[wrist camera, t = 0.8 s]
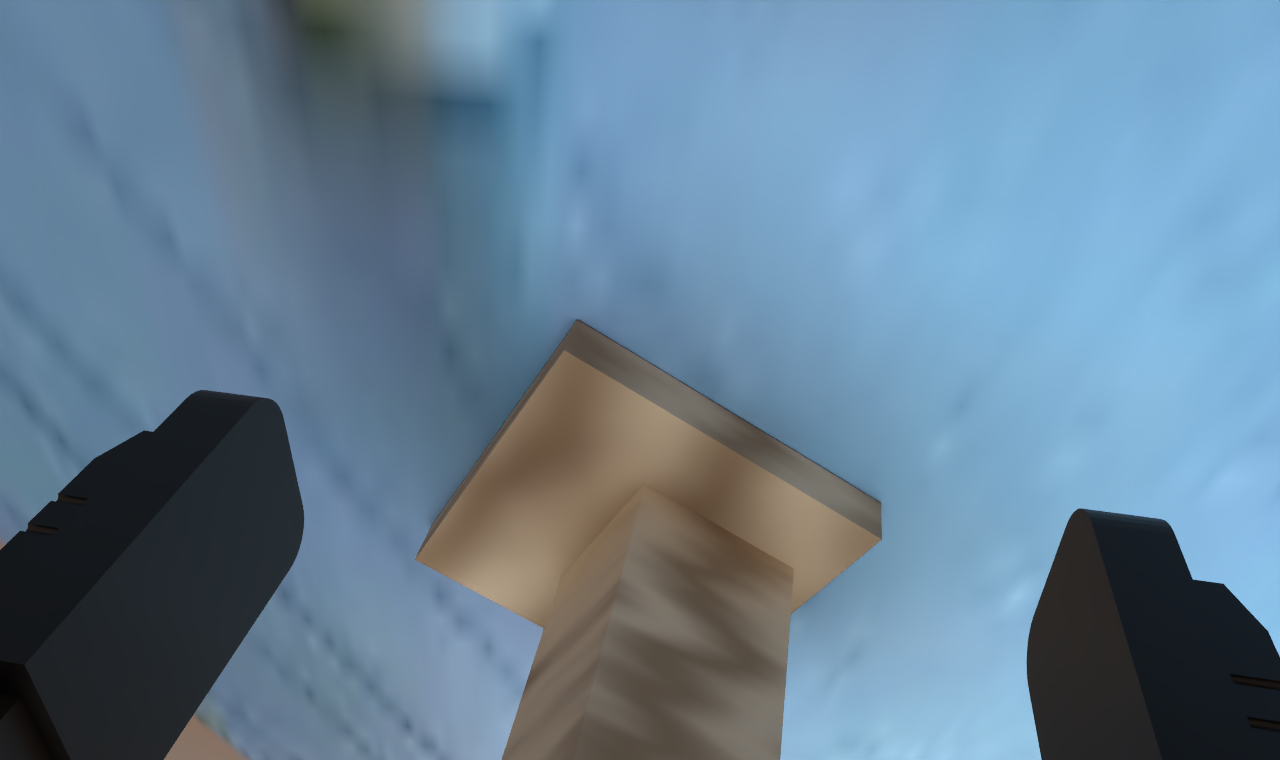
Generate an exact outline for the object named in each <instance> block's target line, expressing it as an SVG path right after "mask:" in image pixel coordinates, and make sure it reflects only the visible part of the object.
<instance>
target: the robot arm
mask: <svg viewBox="0 0 1280 760" xmlns="http://www.w3.org/2000/svg"><path fill="white" fill-rule="evenodd" d="M303 528H304V510H303V504H302V500H301V495H300V491H299V486H298V482H297V477H296V472H295V468H294V463H293V459H292V454H291V450H290V445H289V440H288V436H287V431H286V427H285V422H284V418H283V414H282V412H281V409H280V407H279V406H278V405H277V403H276V402H274V401H273V400H271V399H268V398H261V397H253V396H245V395H238V394H230V393H223V392H215V391H208V390H200V391H197V392H195V393H193V394H191V395H190V396H189V397H188V398H186V399H185V400H184V401H183V402H182V403H181V404H180V405H179V407H178V408H177V409H176V410H175V411H174V412H173V413H172V414H171V415H170V416H169V417H168V418H167V419H166V420H165V421H164V422H163V423H162V424H161V425H160V426H159V427H158V428H157V429H156V430H155V431H154V432H150V431H143V432H141V433H139V434H137V435H135V436H134V437H132V438H130V439H128V440H127V441H125V442H123V443H121V444H119V445H118V446H116V447H114V448H112V449H111V450H109V451H107V452H105V453H103V454H102V455H100V456H98V457H96V458H95V459H94V460H93V461H91V462H90V463H89V464H88V465H87V466H86V467H85V468H84V469H83V470H82V471H81V472H80V473H79V474H78V475H77V476H76V477H75V478H74V479H73V480H72V481H71V482H70V483H69V484H68V485H67V486H66V487H65V488H64V489H63V490H62V491H61V492H60V493H59V494H58V500H57V501H56V502H54V501H50V502H49V503H48V504H47V505H46V506H45V507H44V508H43V509H42V510H41V511H40V512H39V513H38V514H37V515H36V516H35V517H34V518H33V519H32V520H31V521H30V522H29V523H28V529H27V531H26V532H24V531H20V532H18V533H17V534H16V535H15V536H14V537H13V538H12V539H11V540H10V541H9V542H8V543H7V544H6V545H5V546H4V547H3V548H2V549H1V550H0V760H164V758H165V757H166V755H167V753H168V752H169V750H170V749H171V747H172V746H173V744H174V743H175V741H176V740H177V738H178V737H179V735H180V734H181V732H182V731H183V729H184V728H185V726H186V725H187V723H188V722H189V720H190V719H191V717H192V716H193V714H194V713H195V711H196V710H197V708H198V707H199V705H200V704H201V702H202V701H203V699H204V698H205V696H206V695H207V693H208V692H209V690H210V689H211V687H212V686H213V684H214V683H215V681H216V680H217V678H218V677H219V675H220V674H221V672H222V671H223V669H224V668H225V666H226V665H227V663H228V662H229V660H230V659H231V657H232V656H233V654H234V653H235V651H236V650H237V648H238V647H239V645H240V644H241V642H242V641H243V639H244V637H245V636H246V634H247V633H248V631H249V630H250V628H251V627H252V625H253V624H254V622H255V621H256V619H257V618H258V616H259V615H260V613H261V612H262V610H263V609H264V607H265V606H266V604H267V603H268V601H269V600H270V598H271V597H272V595H273V594H274V592H275V591H276V589H277V588H278V586H279V585H280V583H281V582H282V580H283V579H284V577H285V576H286V574H287V573H288V571H289V570H290V568H291V566H292V565H293V563H294V561H295V558H296V556H297V553H298V551H299V548H300V544H301V540H302V535H303ZM1027 679H1028V686H1029V692H1030V698H1031V703H1032V709H1033V714H1034V720H1035V725H1036V731H1037V736H1038V742H1039V747H1040V753H1041V758H1042V760H1280V657H1279V655H1278V652H1277V650H1276V648H1275V646H1274V644H1273V641H1272V639H1271V637H1270V635H1269V633H1268V631H1267V630H1266V629H1265V628H1264V627H1263V626H1262V624H1261V623H1260V622H1259V621H1258V620H1257V619H1256V618H1255V617H1254V616H1253V615H1252V614H1251V613H1250V612H1249V611H1248V610H1247V609H1246V608H1245V606H1244V605H1243V604H1242V603H1241V602H1240V601H1239V600H1238V599H1237V598H1236V597H1235V596H1234V595H1233V594H1232V593H1231V592H1230V591H1229V589H1228V588H1227V587H1226V586H1225V585H1224V584H1220V583H1213V582H1206V581H1199V580H1193V579H1192V577H1191V574H1190V572H1189V569H1188V567H1187V564H1186V562H1185V559H1184V556H1183V554H1182V551H1181V549H1180V546H1179V544H1178V541H1177V539H1176V536H1175V534H1174V532H1173V530H1172V528H1171V526H1170V525H1169V524H1168V523H1167V522H1166V521H1165V520H1162V519H1156V518H1149V517H1141V516H1133V515H1126V514H1118V513H1111V512H1103V511H1096V510H1088V509H1077V510H1076V511H1075V512H1074V513H1073V514H1072V515H1071V517H1070V519H1069V521H1068V523H1067V526H1066V528H1065V531H1064V534H1063V537H1062V539H1061V542H1060V545H1059V548H1058V550H1057V553H1056V556H1055V559H1054V561H1053V564H1052V567H1051V570H1050V572H1049V575H1048V578H1047V581H1046V583H1045V586H1044V589H1043V592H1042V595H1041V597H1040V600H1039V603H1038V606H1037V608H1036V611H1035V614H1034V617H1033V620H1032V623H1031V628H1030V633H1029V639H1028V648H1027Z"/></svg>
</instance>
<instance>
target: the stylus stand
mask: <svg viewBox="0 0 1280 760" xmlns="http://www.w3.org/2000/svg"><path fill="white" fill-rule="evenodd" d="M880 540H882V529H881V503H880V502H878V501H877V500H875V499H873V498H872V497H870V496H868V495H867V494H865V493H863V492H862V491H860V490H858V489H857V488H855V487H853V486H852V485H850V484H848V483H847V482H845V481H844V480H842V479H840V478H839V477H837V476H835V475H834V474H832V473H830V472H829V471H827V470H825V469H824V468H822V467H820V466H819V465H817V464H815V463H814V462H812V461H810V460H809V459H807V458H805V457H804V456H802V455H801V454H799V453H797V452H796V451H794V450H792V449H791V448H789V447H787V446H786V445H784V444H782V443H781V442H779V441H777V440H776V439H774V438H772V437H771V436H769V435H767V434H766V433H764V432H763V431H761V430H759V429H758V428H756V427H754V426H753V425H751V424H749V423H748V422H746V421H744V420H743V419H741V418H739V417H738V416H736V415H734V414H733V413H731V412H729V411H728V410H726V409H724V408H723V407H721V406H720V405H718V404H716V403H715V402H713V401H711V400H710V399H708V398H706V397H705V396H703V395H701V394H700V393H698V392H696V391H695V390H693V389H691V388H690V387H688V386H686V385H685V384H683V383H681V382H680V381H678V380H677V379H675V378H673V377H672V376H670V375H668V374H667V373H665V372H663V371H662V370H660V369H658V368H657V367H655V366H653V365H652V364H650V363H648V362H647V361H645V360H643V359H642V358H640V357H639V356H637V355H635V354H634V353H632V352H630V351H629V350H627V349H625V348H624V347H622V346H620V345H619V344H617V343H615V342H614V341H612V340H610V339H609V338H607V337H605V336H604V335H602V334H600V333H599V332H597V331H596V330H594V329H592V328H591V327H589V326H587V325H586V324H584V323H582V322H581V321H579V320H577V321H576V322H575V323H574V325H573V326H572V328H571V329H570V330H569V332H568V333H567V335H566V336H565V338H564V339H563V340H562V342H561V343H560V345H559V346H558V347H557V349H556V350H555V352H554V353H553V355H552V356H551V357H550V359H549V360H548V362H547V363H546V364H545V366H544V367H543V369H542V370H541V372H540V373H539V374H538V376H537V377H536V379H535V380H534V381H533V383H532V384H531V386H530V387H529V389H528V390H527V391H526V393H525V394H524V396H523V397H522V398H521V400H520V401H519V403H518V404H517V406H516V407H515V408H514V410H513V411H512V413H511V414H510V415H509V417H508V418H507V420H506V421H505V423H504V424H503V425H502V427H501V428H500V430H499V431H498V432H497V434H496V435H495V437H494V438H493V440H492V441H491V442H490V444H489V445H488V447H487V448H486V450H485V451H484V452H483V454H482V455H481V457H480V458H479V459H478V461H477V462H476V464H475V465H474V467H473V468H472V469H471V471H470V472H469V474H468V475H467V476H466V478H465V479H464V481H463V482H462V484H461V485H460V486H459V488H458V489H457V491H456V492H455V493H454V495H453V496H452V498H451V499H450V501H449V502H448V503H447V505H446V506H445V508H444V509H443V510H442V512H441V513H440V515H439V516H438V518H437V519H436V520H435V522H434V523H433V525H432V526H431V528H430V530H429V532H428V534H427V536H426V538H425V540H424V542H423V544H422V546H421V548H420V550H419V552H418V554H417V556H416V558H415V560H417V561H418V562H420V563H422V564H424V565H426V566H428V567H430V568H432V569H433V570H435V571H437V572H439V573H441V574H443V575H445V576H447V577H449V578H450V579H452V580H454V581H456V582H458V583H460V584H462V585H464V586H465V587H467V588H469V589H471V590H473V591H475V592H477V593H479V594H480V595H482V596H484V597H486V598H488V599H490V600H492V601H494V602H495V603H497V604H499V605H501V606H503V607H505V608H507V609H509V610H511V611H512V612H514V613H516V614H518V615H520V616H522V617H524V618H526V619H527V620H529V621H531V622H533V623H535V624H537V625H539V626H541V627H542V628H544V630H543V633H542V636H541V640H540V643H539V646H538V649H537V652H536V655H535V658H534V661H533V664H532V667H531V671H530V674H529V677H528V680H527V683H526V686H525V689H524V692H523V695H522V698H521V702H520V705H519V708H518V711H517V714H516V717H515V720H514V723H513V726H512V729H511V732H510V736H509V739H508V742H507V745H506V748H505V751H504V754H503V757H502V760H780V754H781V740H782V726H783V712H784V699H785V685H786V671H787V657H788V643H789V630H790V616H791V614H792V613H793V612H794V611H795V610H797V609H798V608H799V607H800V606H802V605H803V604H804V603H805V602H806V601H808V600H809V599H810V598H811V597H812V596H814V595H815V594H816V593H817V592H819V591H820V590H821V589H822V588H823V587H825V586H826V585H827V584H828V583H829V582H831V581H832V580H833V579H834V578H836V577H837V576H838V575H839V574H840V573H842V572H843V571H844V570H845V569H846V568H848V567H849V566H850V565H851V564H853V563H854V562H855V561H856V560H857V559H859V558H860V557H861V556H862V555H863V554H865V553H866V552H867V551H868V550H870V549H871V548H872V547H873V546H874V545H876V544H877V543H878V542H879V541H880Z"/></svg>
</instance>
